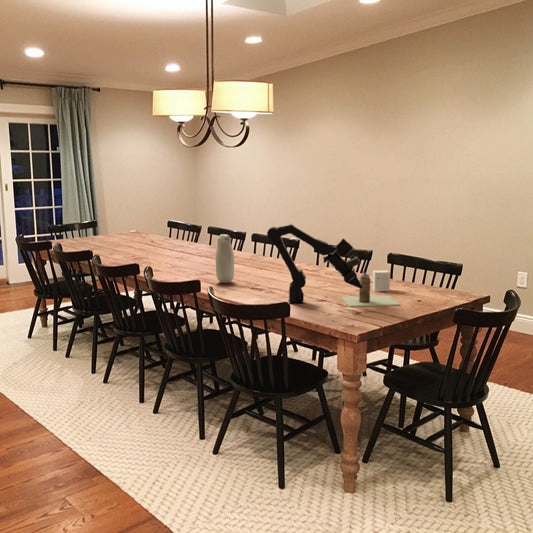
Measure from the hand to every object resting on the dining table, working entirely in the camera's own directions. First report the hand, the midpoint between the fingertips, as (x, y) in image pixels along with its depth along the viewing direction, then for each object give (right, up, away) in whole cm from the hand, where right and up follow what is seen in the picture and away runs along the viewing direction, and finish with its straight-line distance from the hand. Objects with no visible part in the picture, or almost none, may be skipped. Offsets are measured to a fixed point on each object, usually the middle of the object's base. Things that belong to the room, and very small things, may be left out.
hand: (360, 285), depth 264 cm
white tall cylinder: (-69, 0, +51) cm, 86 cm away
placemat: (+5, -8, +3) cm, 10 cm away
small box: (+15, -4, +27) cm, 31 cm away
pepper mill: (+2, -8, +1) cm, 8 cm away
